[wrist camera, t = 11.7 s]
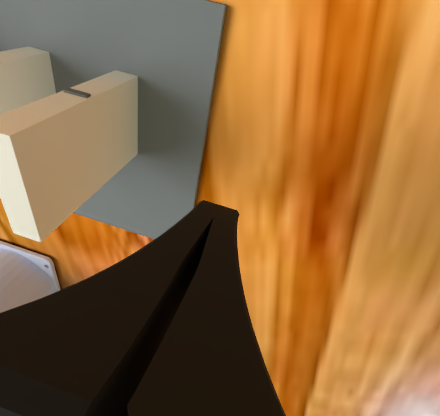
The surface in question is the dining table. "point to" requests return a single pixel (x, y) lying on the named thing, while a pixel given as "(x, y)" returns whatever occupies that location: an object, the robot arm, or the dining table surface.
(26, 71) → the tile
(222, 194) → the dining table surface
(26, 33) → the mat
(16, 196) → the tile
